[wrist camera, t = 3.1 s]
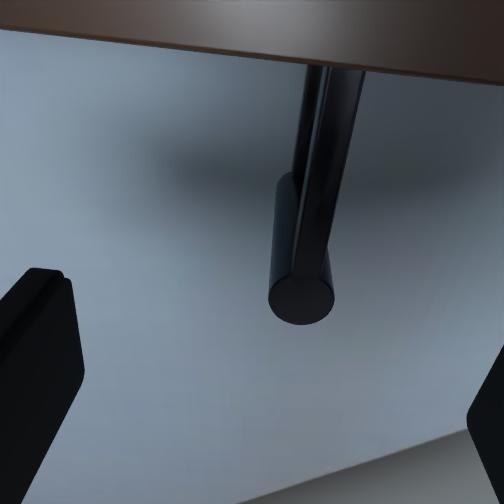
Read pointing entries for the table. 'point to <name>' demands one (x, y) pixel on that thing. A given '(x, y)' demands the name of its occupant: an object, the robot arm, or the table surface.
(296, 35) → the cabinet
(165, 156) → the table surface
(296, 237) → the sliding door
